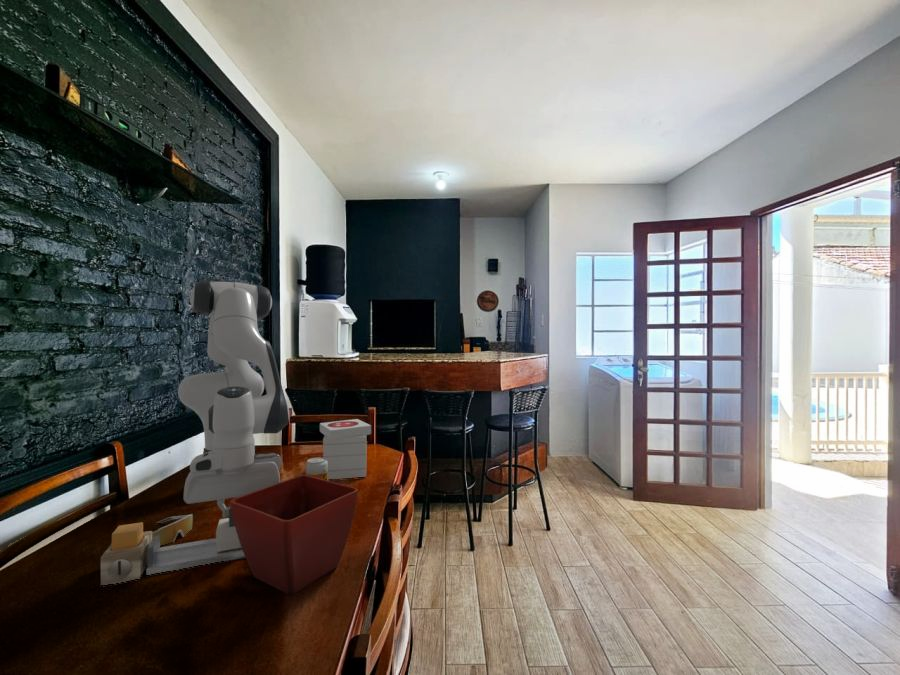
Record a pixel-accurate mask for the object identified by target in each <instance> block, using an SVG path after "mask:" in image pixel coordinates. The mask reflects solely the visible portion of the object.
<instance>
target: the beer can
mask: <svg viewBox="0 0 900 675" xmlns="http://www.w3.org/2000/svg"><path fill="white" fill-rule="evenodd" d="M305 475H308V476H312V477H315V478H319V479H323V480H327V481H329V480H328V462H327V460H326V458H323V457H321V456H318V457H312V458H309V459H307V460H306V464H305Z"/></svg>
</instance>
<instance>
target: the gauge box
mask: <svg viewBox="0 0 900 675" xmlns="http://www.w3.org/2000/svg"><path fill="white" fill-rule="evenodd" d="M152 532H153V530H150V531H149V530H148V531H143V539H142V540H141V542H140V543H139V545H138V546H137V547H131V548H125V549H119V550H113V551H112V543H110V545H109V546H108V547H107V549H106V550H105V551H104V552H103V554H102V555H101V556H100V586H101V585H108V584H114V585H117V584H116V583H119V584H122V583H121V582H124V583H127V582H126V581H130V580H135V579H139V580H140V579H141V578H142V576H143V574H144V572H145V571H146V569H147V567H148V547H149V545H150V543H151V542H152ZM146 566H147V567H146ZM145 568H146V569H145ZM144 570H145V571H144ZM141 575H142V576H141ZM140 577H141V578H140ZM135 581H136V580H135ZM130 582H131V581H130Z"/></svg>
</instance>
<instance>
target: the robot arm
mask: <svg viewBox="0 0 900 675" xmlns="http://www.w3.org/2000/svg"><path fill="white" fill-rule="evenodd" d="M189 301H190V305H191V307H192V308H193V309H192V310H193V311H194V312H195V313H196V314H197V315H200V316H202V317H203V316H204V317H208V316H210V319H209V325H208V332H207V333H208V336H207V350H206V351H207V356H208V357H209V359H211V360H212V361H213V362H215V363H218V364H220V365H223V366H225V371H222V372H221V371H219V372H204V373H203V372H202V373H197V374H194V375H193V374H192V375H189V376H185V377H184V378H183V379H182V380H181V382H180V383H179V385H178V387H177V388H178V390H177V394H178V399H179V401H180V402H181V403H182V404H183V405H184V406H185V407H187V408H189V409H191V410H192V411H193V412H194V413H196V415H197V416H198V417H199V419H200V420H201V422H202V426H203V433H204V448H203V452H202V453H201V454H199V455H196V456H195V457H194V458H193V459H191V462H190V463H189V470H190V472H189V473H188V475H187V477H186V478H185V483H184V487H183V488H184V489H183V501H184V503H185V504H188V505H191V504H196V503H197V504H198V503H204V502H211V501H212V502H214V501H216V505H217V507H218V508H219V509H220V510H221V512H222V519H226V518H229V508H230V506H228V507H227V506H226V504H225V500H226V499H227V500H228V499H234V498H237V497H240V496H243V495H246V494H249V493H252V492H254V491H257V490H260V489H263V488H266V487H269V486H272V485H274V484H277V483H280V482H281V476H280V470H281V468H282V457H281V455H279V454H277V453H276V452H268V453H255V451H256V446H255V445H256V443H255V438H254V435H256V434H263V435H264V434H268V435H269V434H279V433H280V432H281V431H282V430H284V429H285V428H286V426H288V424H289V422H290V421H289V420H290V407H289V404H288V402H287V399H286V396H285V393H284V390H283V389H284V388H283V385H282V382H281V378H280V373H279V370H278V364H277V360H276V357H275V353H274V349H273V347H272V345H271V343H270V341H269V340H267V339H265V338H264V337H262V335H261V333H260V332H259V329H258V320H259V319H264V318H266V317H267V316H268V315H269V314H270V312H271V309H272V307H273V298H272V295H271V292H270V290H269V289H268V287H265V286H263V285H258V284H257V285H253V284H249V283H244V282H239V281H237V282H236V281H234V282H232V281H231V282H230V281H211V280H200V281H198V282H196V283H195V284H194V286H193V287H192V289H191V292H190V295H189ZM250 363H252V364H254V365H255V366H257V367H258V368H259V369H260V370H261V373H262V374H260V373H259V372H257V371H255V369H254V368H252V367H251V365H250ZM261 375H262V376H261ZM264 390H265V391H266V394H265V395H263V393H264Z"/></svg>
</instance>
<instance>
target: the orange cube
mask: <svg viewBox="0 0 900 675" xmlns="http://www.w3.org/2000/svg"><path fill="white" fill-rule="evenodd" d="M143 532H144V522H143V521H141V522H136V523H135V522H134V523H129V524H121V525H118V526H117V528H115V530H114V531H113V532H112V534H111V544H112V551H113V550H119V549H125V548H131V547H137V546H138V545H139V543H140V542H141V540H142V539H143Z"/></svg>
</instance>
